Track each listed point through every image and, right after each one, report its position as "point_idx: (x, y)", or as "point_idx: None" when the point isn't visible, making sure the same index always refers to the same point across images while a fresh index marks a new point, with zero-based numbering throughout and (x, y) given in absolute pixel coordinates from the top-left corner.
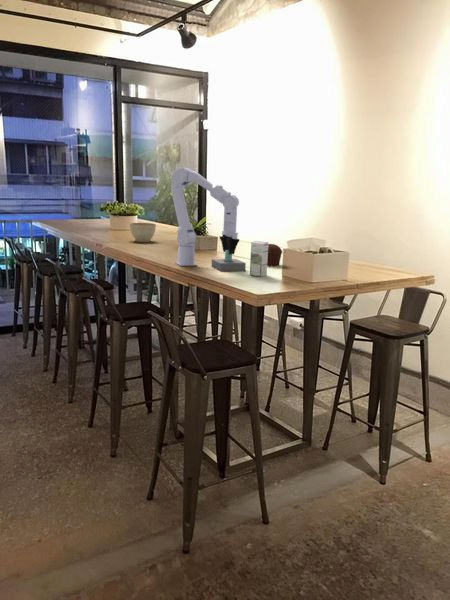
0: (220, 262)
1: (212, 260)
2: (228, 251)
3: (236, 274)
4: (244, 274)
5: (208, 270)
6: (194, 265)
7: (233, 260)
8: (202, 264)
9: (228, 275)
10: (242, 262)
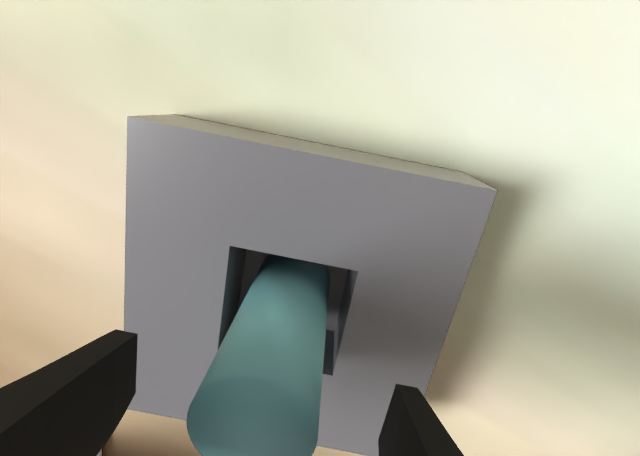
0: (346, 435)
1: (153, 405)
2: (309, 447)
3: (582, 360)
4: (626, 298)
5: (319, 452)
6: (100, 451)
7: (259, 233)
8: (31, 361)
9: (580, 434)
10: (448, 212)
